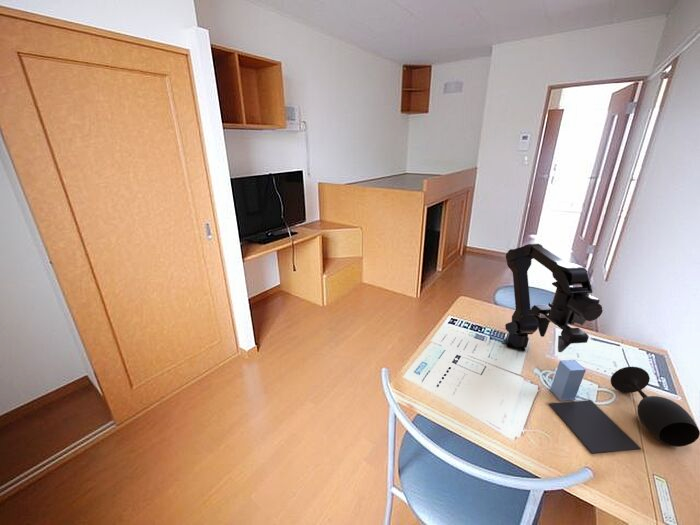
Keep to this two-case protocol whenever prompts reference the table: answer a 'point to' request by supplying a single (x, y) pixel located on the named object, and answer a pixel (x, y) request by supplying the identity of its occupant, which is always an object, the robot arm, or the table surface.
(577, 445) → the table surface
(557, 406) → the rubber mat
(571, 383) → the blue block
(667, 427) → the wine glass
